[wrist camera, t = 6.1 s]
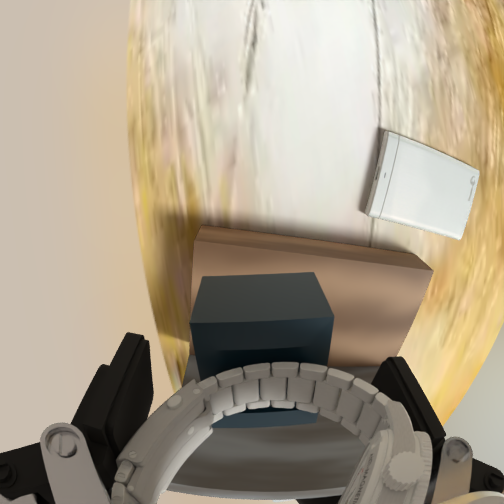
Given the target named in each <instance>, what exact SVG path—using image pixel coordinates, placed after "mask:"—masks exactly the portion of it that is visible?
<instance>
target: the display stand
mask: <svg viewBox="0 0 504 504" xmlns="http://www.w3.org/2000/svg"><path fill="white" fill-rule="evenodd" d="M300 272H314V273H315V275H316V277H317V279H318V282H319V284H320V286H321V288H322V290H323V292H324V294H325V297H326V299H327V301H328V303H329V305H330V307H331V310H332V312H333V314H334V316H335V317H334V325H333V332H332V339H331V345H330V352H329V358H328V364H327V368H328V369H329V368H333V369H337V370H340V371H343V372H346V373H349V374H351V375H353V376H354V380H355V379H356V378H359V379H361V380H363V381H365V382H367V383H369V384H371V382H372V381H373V379H374V377H375V375H376V373H377V371H378V369H379V367H380V365H381V363H382V362H383V361H385V360H386V359H387V358H388V357H396V356H397V354H398V352H399V350H400V348H401V346H402V344H403V342H404V340H405V338H406V336H407V334H408V332H409V330H410V327H411V325H412V323H413V321H414V319H415V316H416V314H417V312H418V310H419V307H420V305H421V302H422V300H423V298H424V295H425V293H426V290H427V288H428V285H429V282H430V280H431V277H432V274H433V272H434V271H433V270H432V269H431V268H430V267H429V266H428V265H427V264H426V263H424V262H423V261H422V260H421V259H420V258H419V257H418V256H417V255H415V254H410V253H403V252H397V251H390V250H384V249H377V248H370V247H364V246H357V245H350V244H343V243H336V242H329V241H322V240H315V239H307V238H300V237H292V236H285V235H277V234H270V233H262V232H254V231H246V230H238V229H230V228H222V227H214V226H206V225H202V226H201V228H200V230H199V232H198V234H197V236H196V238H195V240H194V250H193V267H192V286H191V310H190V318H191V315H192V311H193V307H194V304H195V300H196V297H197V293H198V290H199V286H200V283H201V279H202V276H226V275H254V274H278V273H300ZM328 369H327V371H328ZM326 377H327V375H326ZM193 379H195V381H196V382H197V384H198V383H199V382H201V381H200V376H199V371H198V367H197V362H196V356H195V351H194V346H193V341H192V335H191V330H190V349H189V359H188V363H187V367H186V371H185V376H184V380H183V385H182V387H184V386H185V385H186V384H188V383H189V382H190V381H192V380H193ZM341 390H342V389H341ZM340 394H341V393H340ZM339 398H340V397H339ZM338 402H339V401H338ZM337 406H338V405H337ZM320 408H321V407H320ZM341 421H342V420H341ZM341 421H340V422H335V421H333V420H331V419H329V418H326V417H324V416H322V415H320V410H319V412H318V417H317V422H316V423H311V424H302V425H291V426H278V427H261V428H212V430H213V432H212V434H211V435H210V436H209V437H207V438H206V439H205V440H204V441H203V442H202V443H201V444H200V445H199V446H198V447H197V448H196V449H195V450H194V451H193V453H192V454H191V455H190V456H189V457H188V458H187V459H186V461H185V462H184V463H183V464H182V466H181V467H180V468H179V470H178V471H177V473H176V474H175V476H174V477H173V479H172V481H171V482H170V484H169V486H168V487H167V489H166V490H169V491H174V492H181V493H186V494H194V495H201V496H209V497H219V498H232V499H253V500H285V499H305V498H318V497H328V496H336V495H342V494H343V492H344V490H345V487H346V485H347V483H348V481H349V479H350V477H351V475H352V473H353V471H354V469H355V466H356V464H357V462H358V460H359V458H360V456H361V454H362V452H363V450H364V448H365V445H364V444H363V443H362V442H361V440H360V439H359V436H360V435H354V434H353V433H352V432H350V431H349V430H348V429H346V428H345V427H344V426H342V425H341Z"/></svg>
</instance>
